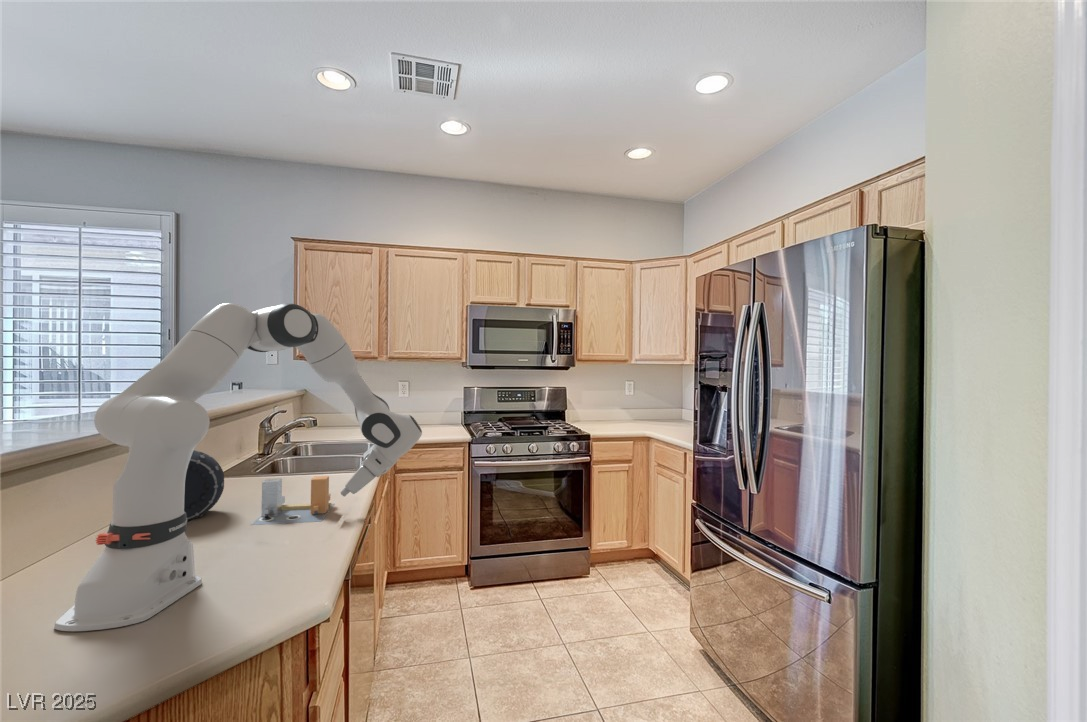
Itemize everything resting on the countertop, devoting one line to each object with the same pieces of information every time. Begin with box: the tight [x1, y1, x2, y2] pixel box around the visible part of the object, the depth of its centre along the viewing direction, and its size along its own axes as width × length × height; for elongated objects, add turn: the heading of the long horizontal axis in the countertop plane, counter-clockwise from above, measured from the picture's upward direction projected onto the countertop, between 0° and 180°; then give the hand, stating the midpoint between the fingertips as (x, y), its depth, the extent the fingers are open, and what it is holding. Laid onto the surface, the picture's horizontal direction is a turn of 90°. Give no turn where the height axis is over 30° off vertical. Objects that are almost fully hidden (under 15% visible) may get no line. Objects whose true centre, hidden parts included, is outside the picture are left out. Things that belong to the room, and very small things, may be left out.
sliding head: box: [310, 475, 331, 515], centre depth 142 cm, size 12×4×10 cm, turn 12°
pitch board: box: [250, 502, 335, 526], centre depth 139 cm, size 17×18×2 cm
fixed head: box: [260, 477, 286, 518], centre depth 139 cm, size 12×4×10 cm, turn 12°
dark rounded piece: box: [184, 449, 225, 522], centre depth 135 cm, size 11×20×20 cm, turn 119°
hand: (343, 493), depth 142 cm, fingers closed
